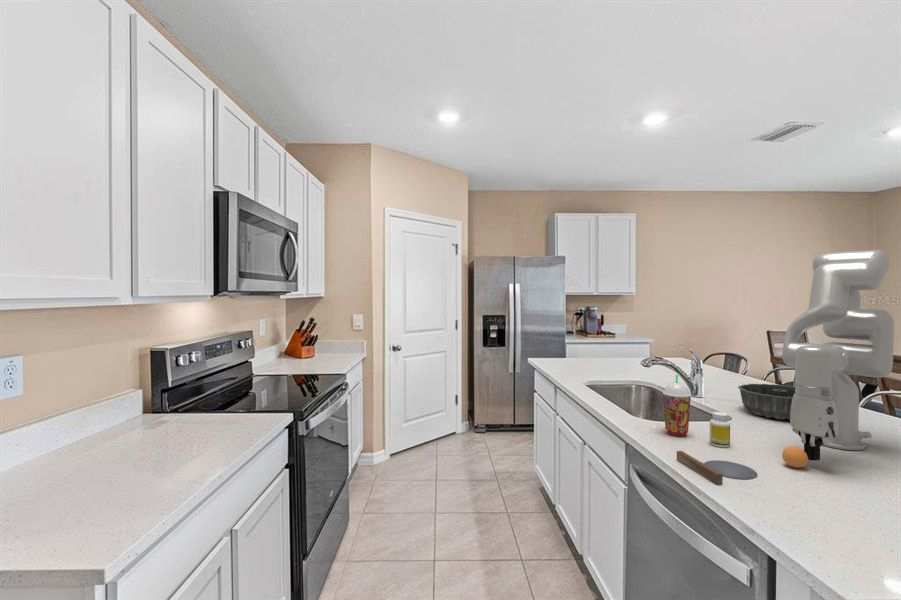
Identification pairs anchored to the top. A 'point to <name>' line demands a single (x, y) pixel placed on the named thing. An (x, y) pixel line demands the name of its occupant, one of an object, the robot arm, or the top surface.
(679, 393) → the smoothie
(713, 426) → the supplement bottle
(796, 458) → the ball
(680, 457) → the rail
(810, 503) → the top surface
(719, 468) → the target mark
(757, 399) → the bundt pan
